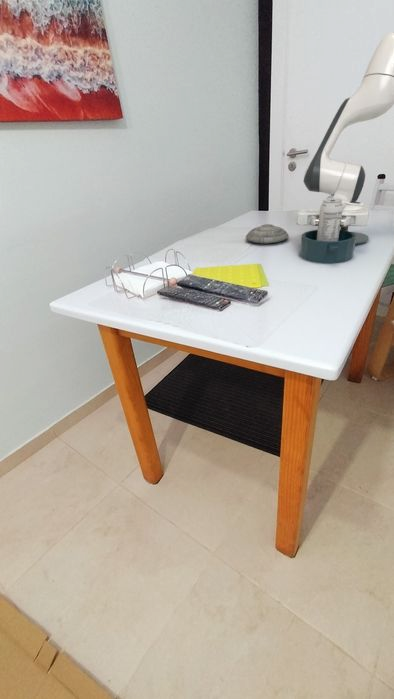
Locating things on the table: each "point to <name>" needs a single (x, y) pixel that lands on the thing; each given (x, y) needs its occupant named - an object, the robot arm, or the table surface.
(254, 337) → the table surface
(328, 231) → the energy drink can
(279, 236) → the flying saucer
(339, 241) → the pot
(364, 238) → the pot lid
